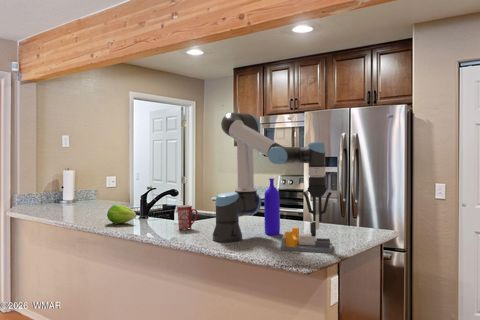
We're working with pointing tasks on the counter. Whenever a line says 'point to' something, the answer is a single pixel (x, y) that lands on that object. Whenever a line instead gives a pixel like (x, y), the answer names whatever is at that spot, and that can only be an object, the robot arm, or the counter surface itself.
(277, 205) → the bottle
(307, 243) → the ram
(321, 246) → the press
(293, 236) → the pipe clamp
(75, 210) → the counter surface
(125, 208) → the green papaya
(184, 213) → the mug
